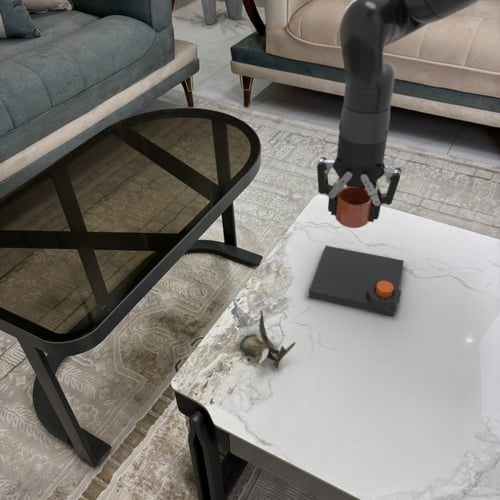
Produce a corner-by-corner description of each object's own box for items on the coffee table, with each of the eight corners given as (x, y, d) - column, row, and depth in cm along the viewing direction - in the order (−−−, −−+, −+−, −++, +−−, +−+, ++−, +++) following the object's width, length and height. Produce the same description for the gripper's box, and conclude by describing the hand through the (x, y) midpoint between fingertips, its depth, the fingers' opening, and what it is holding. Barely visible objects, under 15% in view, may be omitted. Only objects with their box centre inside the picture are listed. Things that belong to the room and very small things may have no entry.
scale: (404, 267, 101) (407, 254, 99) (395, 318, 91) (398, 305, 89) (325, 252, 106) (326, 239, 104) (307, 299, 96) (308, 286, 93)
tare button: (393, 288, 93) (394, 282, 92) (391, 299, 90) (392, 293, 89) (377, 285, 93) (378, 279, 92) (374, 296, 91) (375, 290, 90)
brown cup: (372, 212, 91) (376, 189, 88) (366, 232, 87) (370, 208, 84) (338, 206, 93) (341, 183, 90) (331, 225, 89) (333, 202, 85)
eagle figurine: (302, 346, 85) (267, 311, 90) (291, 340, 79) (254, 303, 83) (272, 379, 85) (238, 343, 90) (258, 375, 79) (223, 336, 83)
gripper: (412, 125, 79) (396, 211, 90) (324, 115, 83) (318, 198, 94) (407, 148, 74) (390, 236, 85) (313, 135, 78) (308, 221, 89)
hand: (352, 215), depth 90 cm, fingers closed on brown cup, 6 cm apart
